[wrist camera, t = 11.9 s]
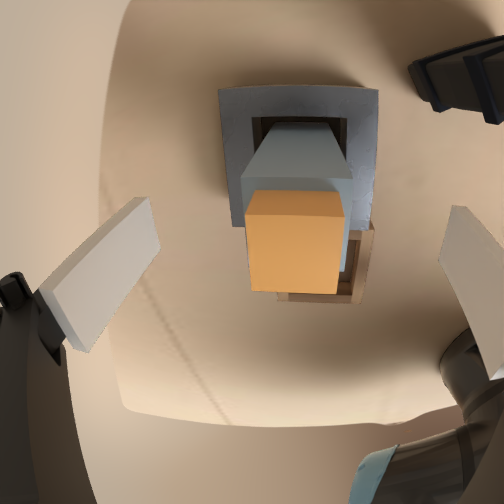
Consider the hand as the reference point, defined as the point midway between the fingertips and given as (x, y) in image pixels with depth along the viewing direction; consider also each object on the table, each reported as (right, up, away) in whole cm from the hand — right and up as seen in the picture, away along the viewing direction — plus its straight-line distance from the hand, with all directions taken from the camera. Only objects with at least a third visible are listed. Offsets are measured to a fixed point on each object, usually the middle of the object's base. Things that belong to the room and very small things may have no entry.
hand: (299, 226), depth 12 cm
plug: (+2, +7, +10) cm, 12 cm away
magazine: (+16, +14, +3) cm, 21 cm away
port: (+2, +7, +10) cm, 12 cm away
